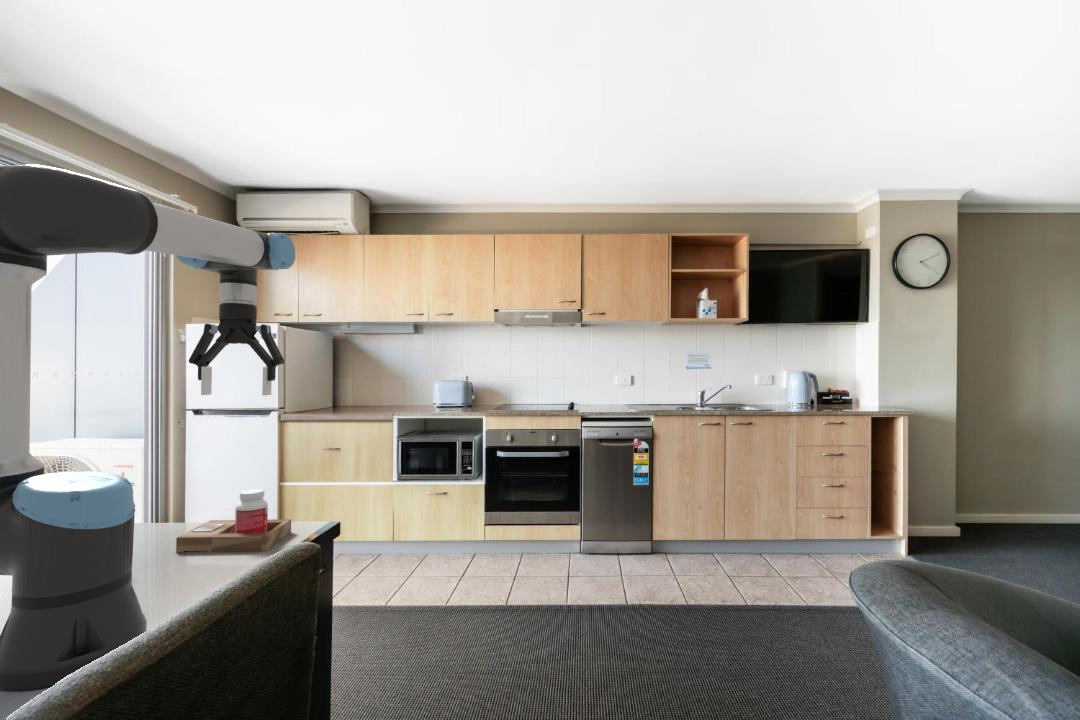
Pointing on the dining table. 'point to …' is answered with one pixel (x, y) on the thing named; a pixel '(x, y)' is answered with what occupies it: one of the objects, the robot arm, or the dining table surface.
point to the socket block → (231, 537)
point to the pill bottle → (251, 512)
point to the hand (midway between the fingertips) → (236, 395)
